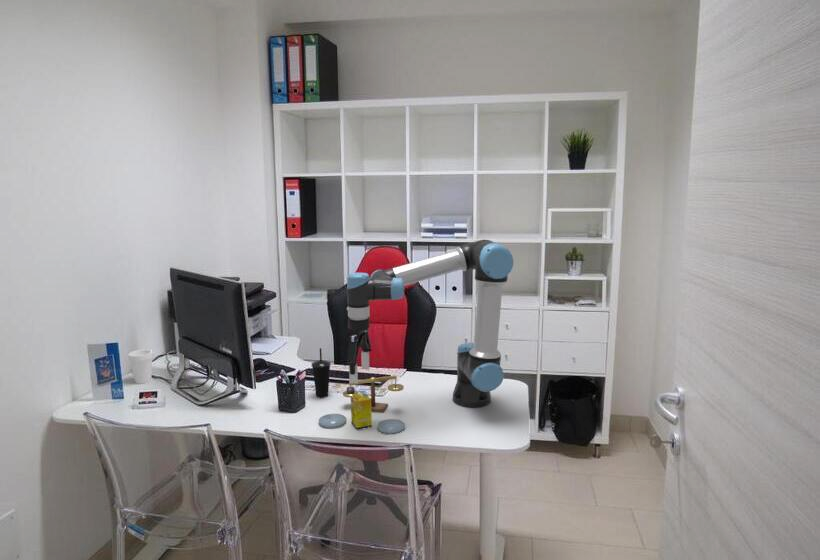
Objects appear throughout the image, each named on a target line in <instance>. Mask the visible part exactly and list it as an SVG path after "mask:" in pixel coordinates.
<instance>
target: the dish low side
mask: <svg viewBox="0 0 820 560" xmlns="http://www.w3.org/2000/svg"><path fill="white" fill-rule="evenodd" d="M346 424H347V417H346V416H345V415H343V414H341V413H329V414H324V415H322V416H320V417H319V419H318V425H319V426H320V427H321V428H323V429H326V430H327V429H330V430H331V429H338V428H339V429H340V428H341V427H344V426H345V425H346Z"/></svg>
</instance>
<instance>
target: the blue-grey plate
mask: <svg viewBox="0 0 820 560" xmlns="http://www.w3.org/2000/svg"><path fill="white" fill-rule="evenodd" d="M376 430H377V432H378V433H380V432H381V433H380V434H383V433H385V434H384V435H388V434H393V435H398V434H397V433H399V434H401V433H403V432H404V431H405V430H406V423H405V422H404V421H403V420H400V419H396V418H388V419H383V420H380V421H379V422H377V423H376ZM402 431H403V432H402ZM400 432H401V433H400Z"/></svg>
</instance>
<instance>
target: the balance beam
mask: <svg viewBox="0 0 820 560" xmlns="http://www.w3.org/2000/svg"><path fill="white" fill-rule="evenodd" d="M397 378H398V376H397V375H390V376H382V377H381V376H379V377H374V376H372V377H370V378H366V379H358V383H350V381H349V382H348V385H349V386H348V387H346V390H345V391H343V392H342V396H343V397H345V398H351V395H357V394H359V391H358V390H356V389H355V386H353V385H361V384H366V383H367V384H368V383H370V384H371V383H375V384H376V383H377V382H382V381H391V380H394V383H392V384H388V386H387V389H388V391H390V392H400V391H403V390H404V387H405V386H404V385H403V384H401V383H397Z"/></svg>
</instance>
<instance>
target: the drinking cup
mask: <svg viewBox="0 0 820 560" xmlns="http://www.w3.org/2000/svg"><path fill="white" fill-rule="evenodd" d="M322 358H323V357H322V348H319V360H316V361H313V362H312V363H311V367H312V375H313V381H314V388H315V389H314V391H315V396H316V397H317V398H319V399H322V398H323V399H324V398H326V397H328V396H329V390H330V389H329V387H330V386H329V385H330V372H331V370H330V369H331V362H330V361H329V360H325V359H322Z"/></svg>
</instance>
